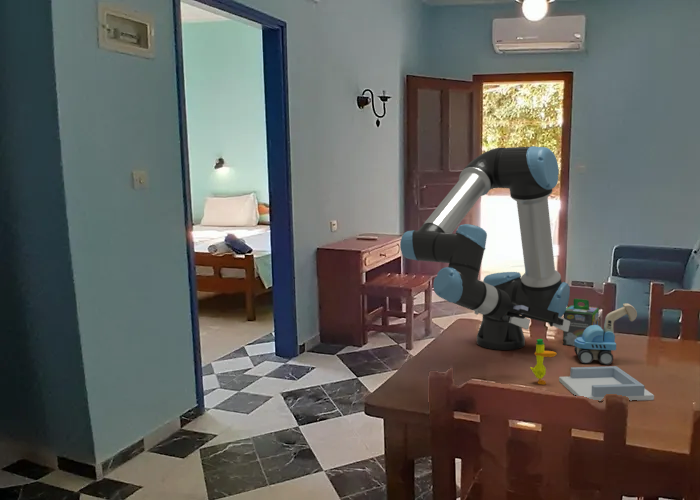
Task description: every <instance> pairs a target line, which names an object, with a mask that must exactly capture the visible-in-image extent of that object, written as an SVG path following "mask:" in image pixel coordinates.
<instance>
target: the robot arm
mask: <svg viewBox="0 0 700 500" xmlns="http://www.w3.org/2000/svg"><path fill="white" fill-rule="evenodd" d="M559 171H560V170H559V164H558V160H557V157H556V155H555V154H554V152H553V151H552V150H551V149H550V148H548V147H545V146H535V145H534V146H533V145H532V146H515V147H496V148H492V149H488V150H487V151H485V152H483V153H480V154H479V155H478V156H477V157H475V158H474V159H473V160H472V161H470V162H468V163H467V165H466V166H465V167H464V168H463V169H462V171H461V172H460V173H459V177H458V178H459V179H458V181H457V183H455V185H454V186H453V187H452V188H451V190H449V192H448V193H447V195H446V196H445V197H444V198H443V200H442V201H440V203H439V204H438V205H437V207H436V208H435V209H434V210H433V212H432V213H431V214H430V215H429V217H428V218H427V219H426V220H425V221H424V223H423V224H422V225H421V226H420V227H419V229H418V230H414V229H413V230H406V231H405V232H403V234H402V236H401V238H400V243H399V247H400V248H399V249H400V251H401V254H402V256H403V257H404V258H406V259H408V260H414V261H417V262H431V263H433V262H434V263H443V264H448V265H447V267H443V268H441V269H440V270H438V272H437V273H436V274H437V276H435V277H434V279H433V286H432V287H433V291H434V293H435V294H436V296H438V297H439V298H441V299H443V300H445V301H447V302H448V303H452V304H455V305H458V306H460V307H463V308H466V309H468V310H470V311H473V312H474V314H475V315H479V314H480V315H482V320H481V323H480V326H479V329H478V332H477V334H476V344H477V345H479V347H482V348H486V349H489V350H499V351H510V350H518V349H521V348H523V347H524V346H526V345H525V343H526V342H525V341H526V338H525V337H526V336H525V334H524V332H523V331H524V329H525V330H529V329H530V328H529V327H530V323H531V320H534V321H539V322H543V323H547V324H548V325H549V327H551V328H552V327H554V328H557V329H559V330H561V331H562V332H563V331H566V332H568V330H569V325H570V321H568V320H566V319H564V318H563V316H564V313H565V310H566V308H568V305H569V301H570V300H569V299H570V295H571V294H570V293H571V291H570V290H571V288H570V285H569V283H567V282H566V281H563V282H562V275H561V273H560V272H559V271H558V270H556V267H555V260H554V259H555V258H554V250H553V249H554V247H553V237H552V230H551V229H552V228H551V219H550V208H549V199H548V198H549V196H550V195H551V194H553V189H555V187H557V185H558V181H559V173H560V172H559ZM493 189H509V194H510V198H511V199H512V200H514V201H516V207H517V214H518V215H517V216H518V221H519V231H520V239H521V240H520V241H521V247H522V255H523V263H524V270H525V271H524V274H521V273H520V272H517V271H502V272H495V273H491V274H490V273H489V274H487V275H485V277H484V278H483V281H482V280H479V274H480V270H481V266H482V262H483V259H484V253H485V251H486V244H487V238H488V234H487V231H486V230H484V228H482V227H481V226H478V225H474V224H470V223H464V224H461V222H462V221H463V220H464V219H465V217H466V216H467V214H468V213H469V212H470V211H471V210H472V208H473V207H474V205H475V204H476V203H477V202H478V200H479V199H480V198H481V197H483V196H485V195H487V194H488V193H490V190H493ZM455 230H456V231H455ZM454 232H455V233H454Z"/></svg>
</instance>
